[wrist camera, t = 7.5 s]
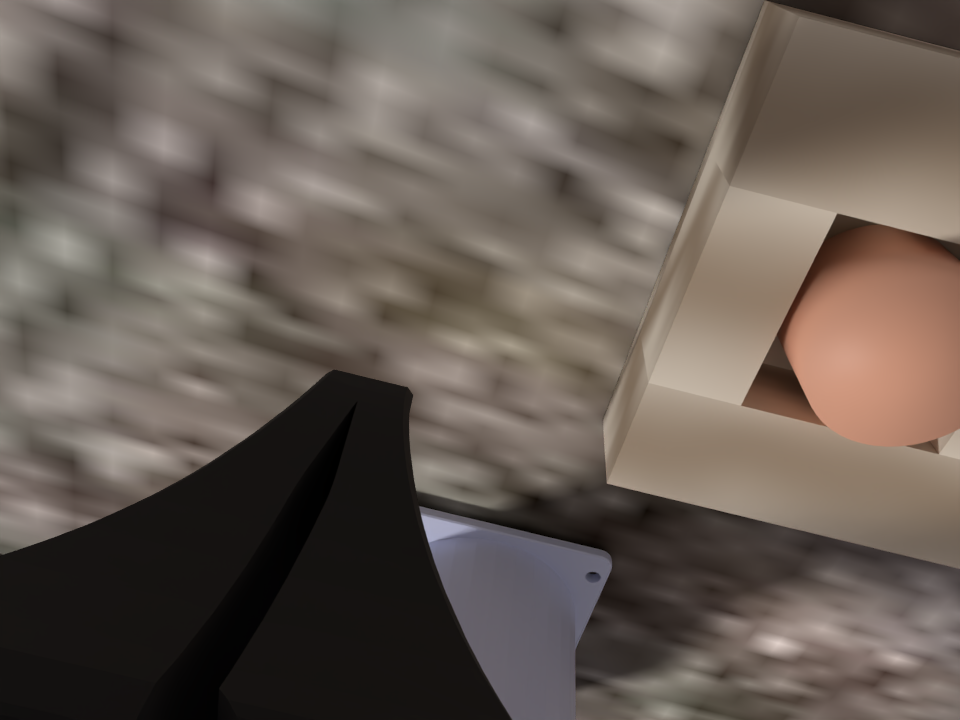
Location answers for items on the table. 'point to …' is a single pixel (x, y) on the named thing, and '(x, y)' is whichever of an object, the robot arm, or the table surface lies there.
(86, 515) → the table surface
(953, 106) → the button panel
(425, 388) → the table surface
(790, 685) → the table surface
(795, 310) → the terracotta button
